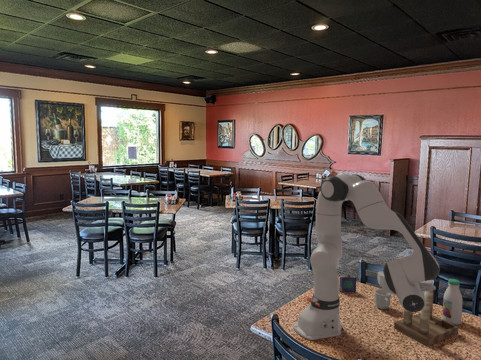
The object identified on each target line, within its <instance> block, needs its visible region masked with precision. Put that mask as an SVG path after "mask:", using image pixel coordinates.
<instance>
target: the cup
mask: <svg viewBox="0 0 481 360" xmlns="http://www.w3.org/2000/svg"><path fill="white" fill-rule="evenodd" d="M391 300H392V294H391V293H387V292H384V291H383V290H382V288H380V289H379V288H376V289H375V290H374V303H375V307H377V308H378V309H379V310H380V309H381V310H387V309H389V308H390V305H391Z"/></svg>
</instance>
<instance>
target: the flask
mask: <svg viewBox="0 0 481 360" xmlns="http://www.w3.org/2000/svg"><path fill="white" fill-rule="evenodd" d="M340 292H341V293H352V292H353V293H357V276H355V275H350V273H349V272H347V273H346V275H340V276H339V293H340Z"/></svg>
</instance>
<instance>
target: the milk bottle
mask: <svg viewBox="0 0 481 360" xmlns="http://www.w3.org/2000/svg"><path fill="white" fill-rule="evenodd" d="M447 284H448V286H447V288H446V290H445V291H444V294H443V299H442V316H441V317H442V318H441V319H442V320H444V321H447V322H449V323H451V324H453V325H455V326H458V325H459V326H460V325H461V324H462V318H463V317H462V316H463V296H462V295H463V294H462V293H461V290H460V284H461V283H460V280H458V279H455V278H448V280H447Z"/></svg>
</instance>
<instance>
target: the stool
mask: <svg viewBox="0 0 481 360" xmlns="http://www.w3.org/2000/svg"><path fill="white" fill-rule="evenodd" d="M434 291H435V290H432V291H430V292H428V291H424V293H423V294H424V297H425V306H424V308H423V309H422V310H421V311H419V312H420V313H418V314H414V315H413V313H414V312H409V311H407V310H405V309H404V308H403V317H402V319H400V320H396V321H394V324H393V329H394V330H396V331H398V332H400V333H402V334H403V335H405V336H407V337H409V338H411V339H412V340H415V341H416V342H418V343H421V345H423V346H425V345H426V347H428V345H429V346H431V345H433V343H434V344H436V343H438V341H439V342H441V341H443V340H446V339H448V338H450V337H453V336H455V335H458V334H459V331H460V330H459V329H460V328H459V326H458V325H453V324H451V323H449V322H447V321H444V320H443V319H442V318H440V317H438V316H436V315H433V311H434V306H433V305H434Z"/></svg>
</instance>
